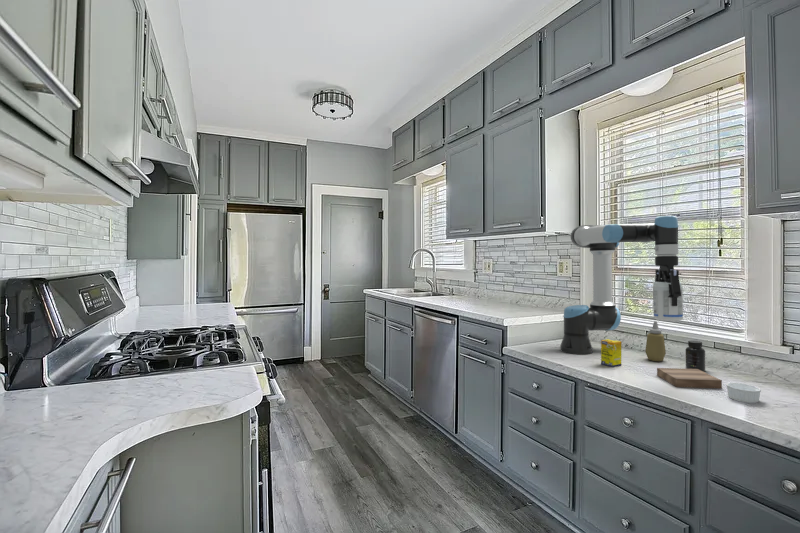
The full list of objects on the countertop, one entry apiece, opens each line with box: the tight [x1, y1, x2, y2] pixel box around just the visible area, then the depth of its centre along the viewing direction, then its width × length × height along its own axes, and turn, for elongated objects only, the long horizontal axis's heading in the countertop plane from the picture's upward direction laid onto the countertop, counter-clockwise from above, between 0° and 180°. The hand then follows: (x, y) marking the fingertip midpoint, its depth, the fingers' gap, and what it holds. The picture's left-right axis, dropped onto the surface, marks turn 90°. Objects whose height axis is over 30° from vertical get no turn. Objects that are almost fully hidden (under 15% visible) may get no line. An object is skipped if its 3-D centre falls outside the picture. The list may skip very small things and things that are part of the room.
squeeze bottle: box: [645, 321, 667, 362], centre depth 185 cm, size 8×8×18 cm
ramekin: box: [725, 382, 762, 404], centre depth 134 cm, size 9×9×4 cm
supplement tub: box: [652, 281, 684, 322], centre depth 155 cm, size 10×10×15 cm
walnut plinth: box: [656, 367, 723, 390], centre depth 153 cm, size 15×15×3 cm
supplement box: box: [600, 338, 622, 368], centre depth 178 cm, size 6×6×11 cm
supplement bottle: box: [684, 340, 706, 372], centre depth 169 cm, size 7×7×12 cm
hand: (666, 312), depth 156 cm, fingers closed on supplement tub, 9 cm apart
